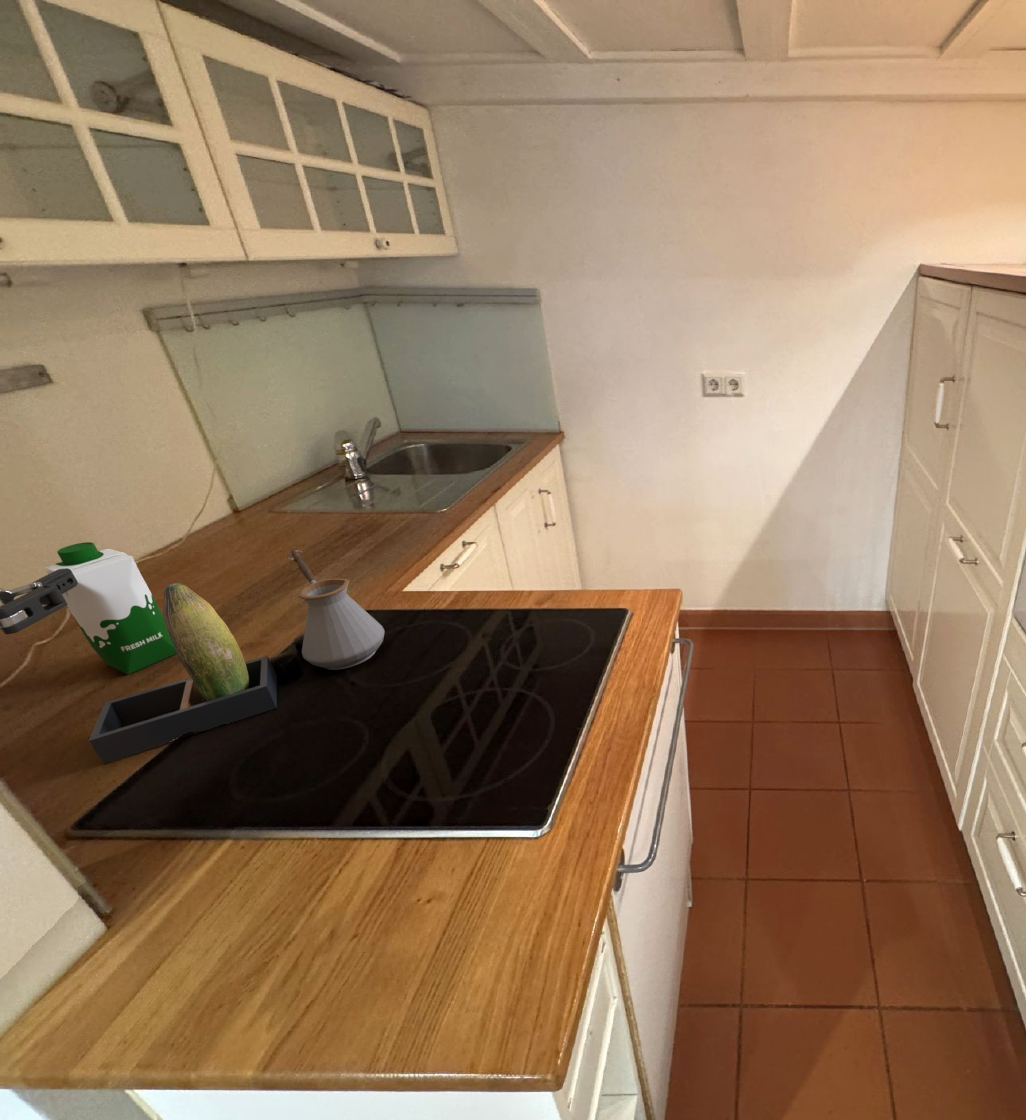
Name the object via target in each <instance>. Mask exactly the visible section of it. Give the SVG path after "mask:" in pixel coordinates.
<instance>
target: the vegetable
mask: <svg viewBox="0 0 1026 1120" xmlns="http://www.w3.org/2000/svg"><path fill="white" fill-rule="evenodd" d="M163 596H164V597H163V610H162V615H163V617H164V622H165V625H166V628H167V631H168V633H169V635H170V638H171V640H172V642H173V645H174V647H175V650H176V652H177V653H176V655H177V656H178V659H179V661H180V663H181V665H182V667H183V668H184V669H185V671H186V672H187V674H188V675H189V678H192V680H193V682H194V684H195V686H196V687H197V688H198V690H199V691H200V693H201V694H202V696H203V697H204V698H205V699H206V702H207V701H211V700H214V699H217V698H221V697H224V696H227V695H230V694H234V693H237V692H240V691H243V690H247V689H250V687H249V676H248V671H247V667H246V664H245V662H246V661H245V658H244V655H243V653H242V651H241V648H240V646H239V644H238V642H237V640H236V638H235V636H234V635H233V634H232V632H231V630H230V628H229V627H228V626H227V624H226V622H225V621H224V620H223V618H221V617H220V615H219V614H218V613H217V611H216V610H215V608H213V606H212V605H211V604H210V603H209V602H208V601H207V600H205V599H204V598H203V597H201V596H200V595H198V594H197V593H195V592H194V591H193V590H192V589H191V588H190V587H188V586H187V585H186V584H184V583H181V582H176V583H171V584H169V585H167V586H166V587H165V589H164V591H163Z"/></svg>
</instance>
